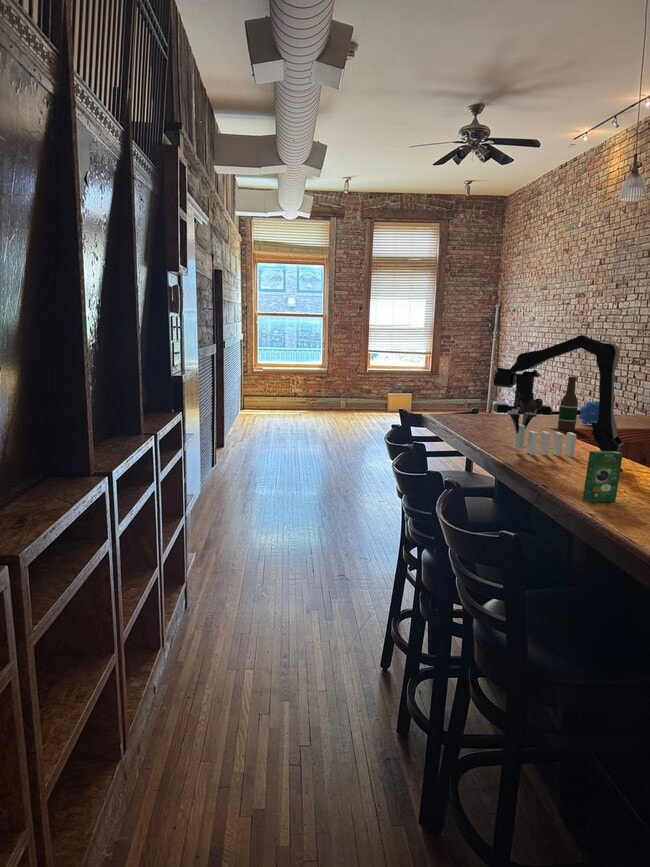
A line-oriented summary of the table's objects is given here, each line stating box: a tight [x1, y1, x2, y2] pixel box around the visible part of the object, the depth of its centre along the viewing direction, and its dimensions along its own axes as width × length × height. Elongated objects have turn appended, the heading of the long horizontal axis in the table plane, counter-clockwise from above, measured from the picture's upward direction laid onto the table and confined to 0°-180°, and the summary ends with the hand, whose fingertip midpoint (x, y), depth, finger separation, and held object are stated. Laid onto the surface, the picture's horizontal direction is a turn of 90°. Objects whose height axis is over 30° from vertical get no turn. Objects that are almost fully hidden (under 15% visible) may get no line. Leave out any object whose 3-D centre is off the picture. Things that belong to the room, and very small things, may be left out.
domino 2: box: [525, 430, 538, 456], centre depth 193 cm, size 5×2×8 cm, turn 177°
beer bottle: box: [557, 376, 579, 432], centre depth 246 cm, size 8×8×24 cm
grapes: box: [578, 400, 599, 425], centre depth 263 cm, size 12×7×12 cm, turn 64°
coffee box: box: [582, 450, 624, 504], centre depth 139 cm, size 8×3×13 cm, turn 102°
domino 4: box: [551, 431, 564, 457], centre depth 193 cm, size 5×2×8 cm, turn 177°
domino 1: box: [514, 423, 526, 450], centre depth 192 cm, size 5×2×8 cm, turn 177°
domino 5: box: [564, 431, 577, 458], centre depth 192 cm, size 5×2×8 cm, turn 177°
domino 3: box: [538, 430, 551, 456], centre depth 193 cm, size 5×2×8 cm, turn 177°
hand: (519, 433), depth 193 cm, fingers closed on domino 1, 2 cm apart
